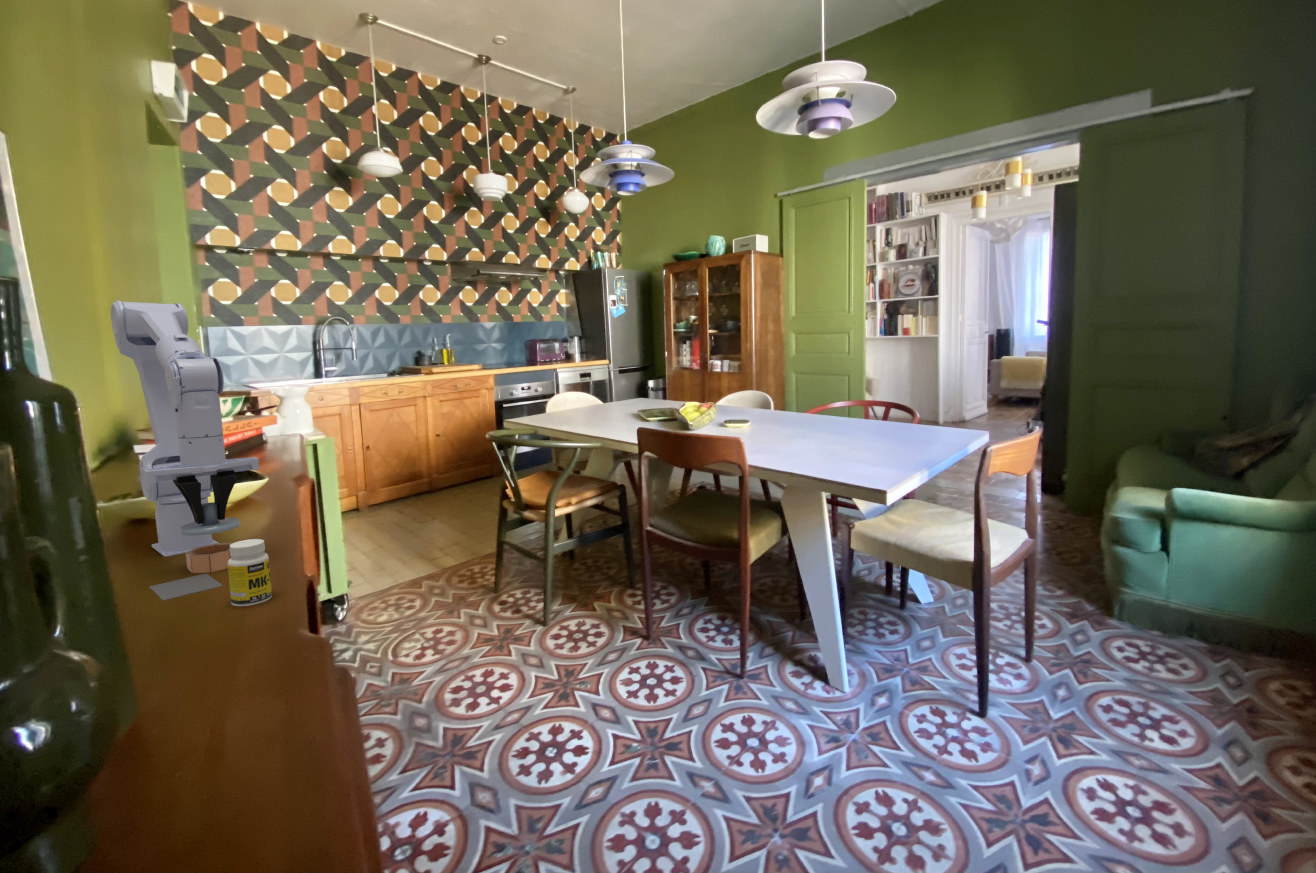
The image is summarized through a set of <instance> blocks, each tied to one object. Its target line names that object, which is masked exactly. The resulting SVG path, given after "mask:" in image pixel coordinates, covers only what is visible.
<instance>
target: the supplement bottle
mask: <svg viewBox="0 0 1316 873" xmlns="http://www.w3.org/2000/svg"><path fill="white" fill-rule="evenodd" d="M232 543H233V544H231V545H230V556H232V558H230V559H229V561H228V569H227V572H228V581H229V582H228V583H229V594H230V595H229V596H230V603H231V605H232V606H235V607H249V606H255V605H258V604H261V603H265V602H266V601H269V600H270V599H271V598H272V596H273V593H272V578H271V567H270V557H269V554H268V553H267V552H265V551H266V545H265V540H264V539H260V538H252V539H244V540H239V541H235V542H232Z"/></svg>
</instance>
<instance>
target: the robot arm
mask: <svg viewBox="0 0 1316 873" xmlns="http://www.w3.org/2000/svg"><path fill="white" fill-rule="evenodd" d="M110 319H111V325H112V331H113V335H114V339H115V343H116V347H117V348H118V351H119V354H120V355H123V356H125V357H128V358H130V359H132V361H133V363H134V365H135V368H136V370H137V372H138V376H139V378H140V382H141V383H140V384H141V388H142V393H143V397H144V401H145V405H146V408H147V409H146V411H147V414H148V418H149V423H150V425H151V426H150V427H151V432H152V435H153V440H154V444H155V446H154V447H152V448H151V449H149V450H148V451H147V452H146V453H144V454H143V455H142V456H141V458H140V461H139V465H138V466H139V471H140V472H139V473H140V477H139V478H140V483H141V484H140V485H141V490H142V493H143V496H144V498H146V500H148V501H149V502H154V503H155V511H154V516H155V525H156V526H155V527H156V534H157V540H158V542H156V543H153V544H151V547H152V548H153V549H154V550H155V551H157V552H158V553H159V554H160V555H161V556H163V557H164V558H165V557H166V558H167V557H173V556H176V555H180V554H186V552H188V551H190V550H192V549H194V548H198V547H201V546H206V545H211V544H217V543H219V542H218V541H217V540H215V539H213V535H212V534H208V535H195V536H190V535H183V534H181V529H180V528H181V526H183V525H185V524H188V523H191V522H196V523H198V524H201V523H204V516H203V511H202V505H201V504H204V503H209V498H210V497H211V493H213V500H214V502H215V503H217V509H218V518H219V520H224V519H225V518H226V512H227V511H226V510H227V507H228V506H227V505H228V502H229V498H230V496H231V494H232V490H233V488H234V487H235V485H236V483H237V481H238V480H237V479H238V475H237V474H236V473H237V472H246V471H258V470H260V464H259V458H258V457H255V456H252V457H239V458H228V459H226V458H227V457H226V450H225V449H226V448H225V438H224V431H223V430H224V429H223V419H222V418H223V417H222V409H221V401H220V400H221V398H220V395H221V394H222V393H223V392H224V387H225V378H224V372H223V368H222V365H221V363H220V360H219V358H217V357H216V356H215V357H214V356H213V357H212V356H206V355H205V354H204V352H203V350H202V349H201V347H200V346H199V345H198V343H197V342H196V341H195V339H193V338H192V337H191V336H188V333H189V318H188V312H187V310H186V308H185V307H184V306H183V305H182V304H181V303H179V302H178V303H177V302H175V303H158V302H157V303H155V302H139V301H138V302H133V301H121V300H115V301H114V302H113V303H112V304H111V306H110Z"/></svg>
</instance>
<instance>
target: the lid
mask: <svg viewBox="0 0 1316 873" xmlns="http://www.w3.org/2000/svg"><path fill="white" fill-rule="evenodd" d="M201 505H202V511H203V516H204V523H201V524H198V523H196V522H191V523H188V524H185V525H183V526H181V528H180V529H181V534H183V535H190V536H195V535H208V534H219V533H224V532H228V531H232V530H234V529H237V528H239V527H240V525H241V524H240V518H238V517H226V516H225V519H224V520H219V518H218V509H217V503H215V502H208V503H204V504H201Z"/></svg>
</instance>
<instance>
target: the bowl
mask: <svg viewBox="0 0 1316 873" xmlns="http://www.w3.org/2000/svg"><path fill="white" fill-rule="evenodd" d="M233 543H234V542H221V543H220V542H218V543H217V544H211V545H206V546H201V547H198V548H194V549H192V550H190V551H188V552H186V553H185V557H186V558H185V559H186V560H185V561H186V568H187V570H188V571H189V572H190V573H192V574H194V573H195V574H205V573H214V572H218V571H223V570H228V561H229V559H230V558H232V556H230V545H231V544H233Z"/></svg>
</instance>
